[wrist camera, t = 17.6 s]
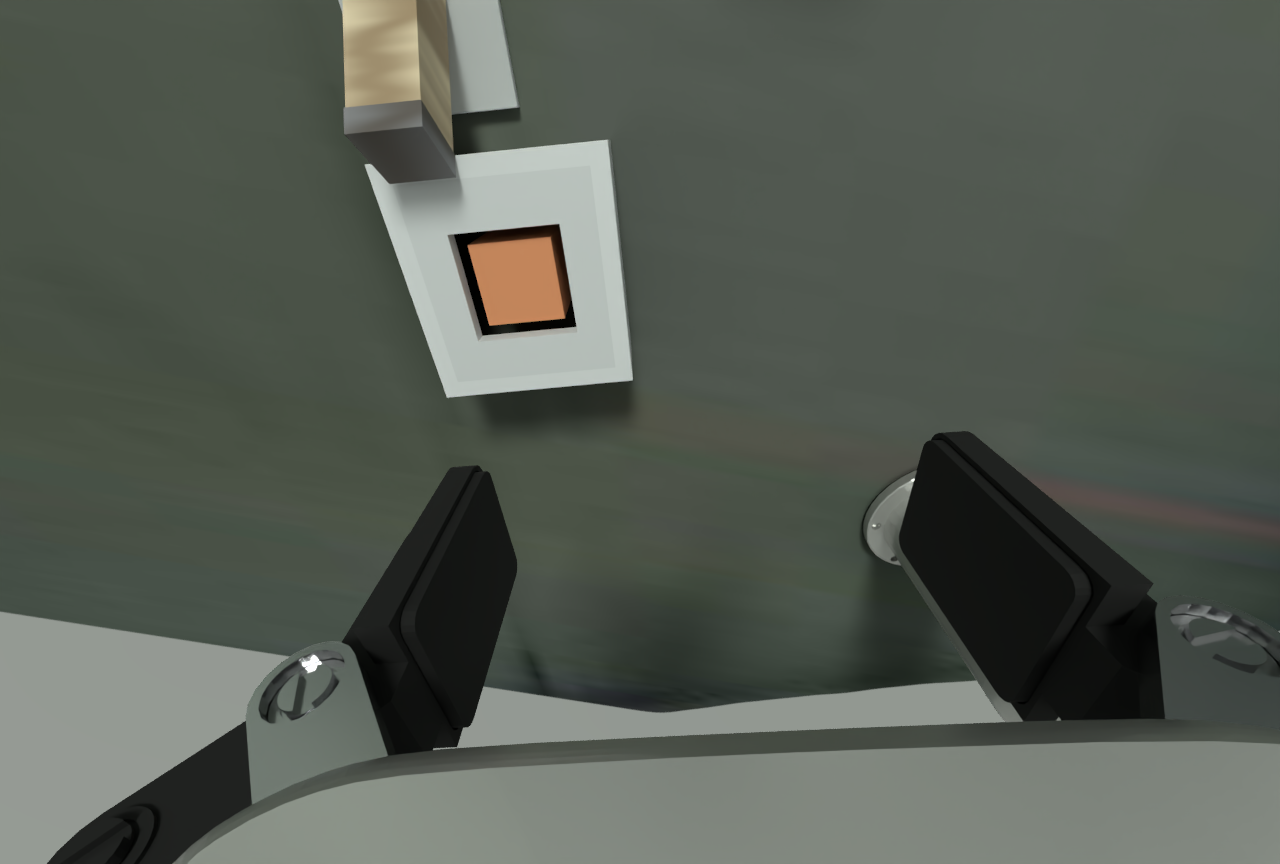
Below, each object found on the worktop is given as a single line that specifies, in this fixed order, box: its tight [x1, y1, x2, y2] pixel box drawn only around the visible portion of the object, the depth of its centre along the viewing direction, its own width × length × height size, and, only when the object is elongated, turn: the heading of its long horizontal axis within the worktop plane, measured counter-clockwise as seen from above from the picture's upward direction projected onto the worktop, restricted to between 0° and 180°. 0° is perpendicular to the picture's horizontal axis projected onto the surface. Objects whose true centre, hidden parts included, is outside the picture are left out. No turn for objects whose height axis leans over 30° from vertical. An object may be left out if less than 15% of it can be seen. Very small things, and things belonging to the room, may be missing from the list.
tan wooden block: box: [342, 0, 456, 184], centre depth 21 cm, size 3×3×10 cm
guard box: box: [365, 140, 633, 397], centre depth 28 cm, size 12×13×6 cm
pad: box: [339, 0, 520, 115], centre depth 24 cm, size 8×8×1 cm
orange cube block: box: [468, 224, 572, 326], centre depth 29 cm, size 5×5×5 cm
